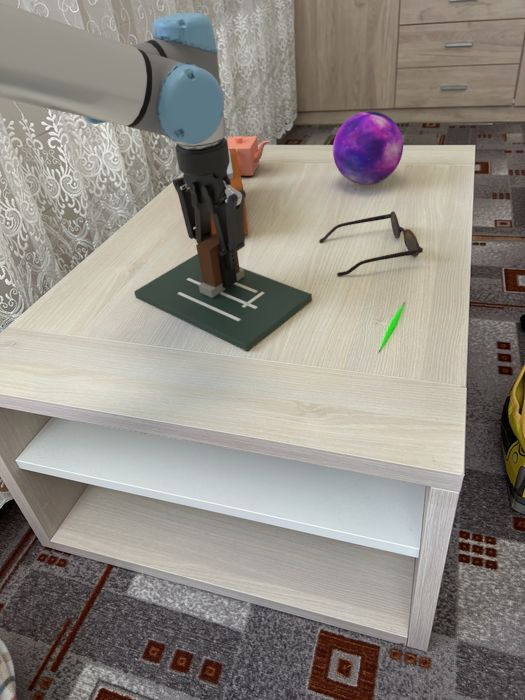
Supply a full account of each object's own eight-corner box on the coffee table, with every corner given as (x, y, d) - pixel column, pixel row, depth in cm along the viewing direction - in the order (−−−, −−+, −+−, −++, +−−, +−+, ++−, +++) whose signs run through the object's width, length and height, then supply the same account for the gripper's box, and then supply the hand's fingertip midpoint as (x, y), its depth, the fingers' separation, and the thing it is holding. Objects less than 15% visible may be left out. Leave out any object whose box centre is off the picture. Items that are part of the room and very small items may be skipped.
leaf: (407, 303, 87) (407, 299, 87) (380, 356, 78) (381, 352, 77) (402, 302, 88) (402, 298, 87) (374, 355, 78) (374, 351, 78)
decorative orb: (346, 200, 118) (346, 128, 109) (324, 175, 130) (323, 109, 120) (411, 188, 120) (418, 117, 110) (384, 165, 131) (388, 98, 122)
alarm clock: (248, 237, 109) (242, 182, 101) (206, 242, 108) (197, 187, 101) (240, 189, 127) (234, 140, 120) (204, 194, 127) (196, 144, 120)
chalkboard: (135, 297, 95) (133, 291, 94) (201, 257, 104) (200, 251, 103) (247, 351, 81) (246, 344, 80) (312, 300, 90) (311, 293, 89)
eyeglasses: (421, 264, 95) (424, 238, 92) (338, 279, 94) (339, 253, 91) (390, 228, 107) (392, 203, 104) (316, 240, 105) (316, 216, 102)
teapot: (267, 180, 130) (264, 145, 125) (206, 181, 133) (201, 146, 128) (276, 162, 139) (274, 128, 134) (219, 162, 142) (214, 129, 137)
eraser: (212, 298, 90) (204, 252, 85) (199, 292, 92) (191, 247, 87) (244, 276, 95) (239, 231, 90) (232, 271, 97) (226, 227, 91)
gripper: (260, 140, 76) (272, 284, 91) (181, 125, 85) (204, 258, 100) (223, 158, 72) (242, 306, 87) (144, 140, 81) (173, 277, 95)
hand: (222, 280), depth 93 cm, fingers closed on eraser, 3 cm apart
